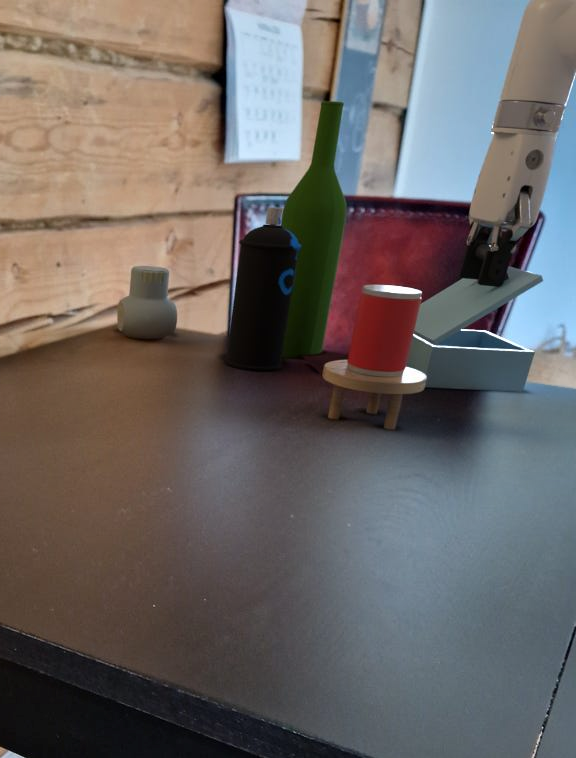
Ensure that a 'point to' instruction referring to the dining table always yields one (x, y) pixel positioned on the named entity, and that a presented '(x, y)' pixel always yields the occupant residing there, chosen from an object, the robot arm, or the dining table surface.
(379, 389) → the stool
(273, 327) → the aerosol can
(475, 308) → the lid
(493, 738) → the dining table surface
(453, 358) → the pale blue open box
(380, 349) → the drink can
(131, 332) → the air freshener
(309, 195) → the wine bottle
